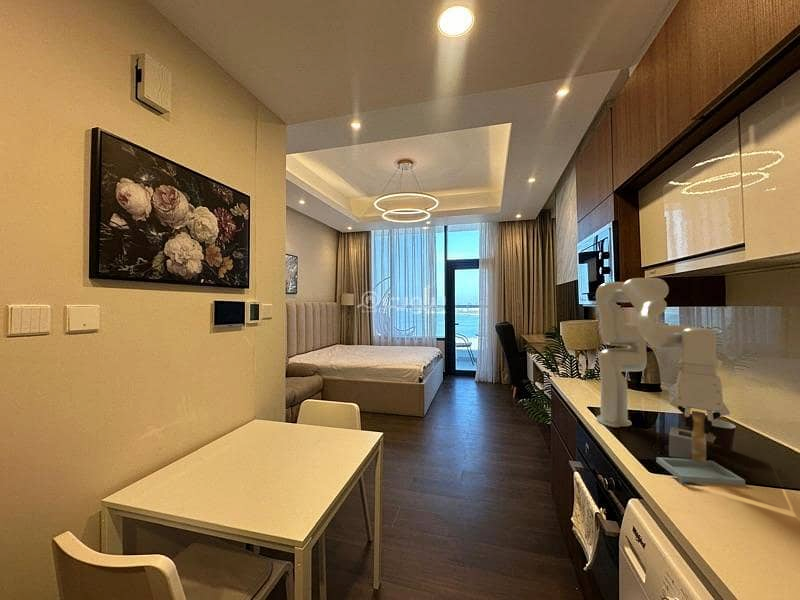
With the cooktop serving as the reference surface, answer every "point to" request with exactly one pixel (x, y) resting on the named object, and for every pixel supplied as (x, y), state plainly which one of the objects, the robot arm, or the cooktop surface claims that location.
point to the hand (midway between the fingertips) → (698, 430)
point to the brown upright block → (698, 436)
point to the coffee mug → (720, 437)
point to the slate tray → (699, 472)
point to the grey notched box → (681, 443)
